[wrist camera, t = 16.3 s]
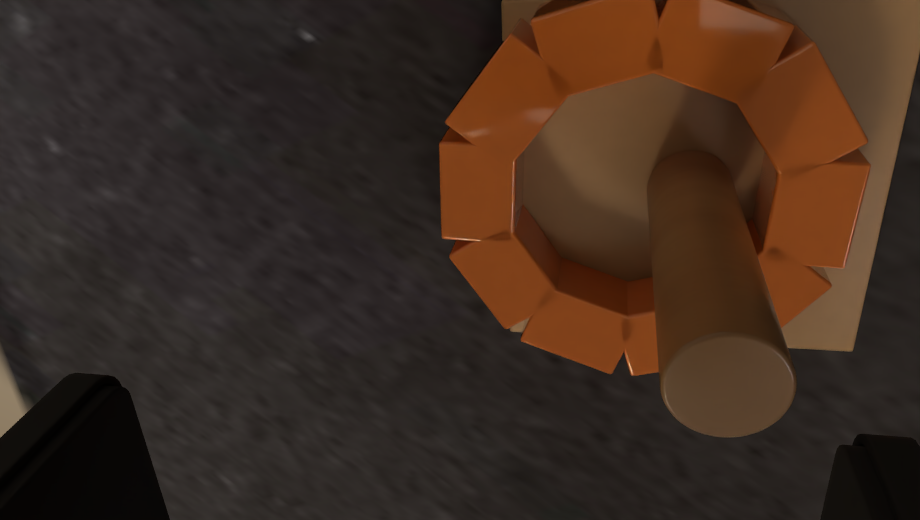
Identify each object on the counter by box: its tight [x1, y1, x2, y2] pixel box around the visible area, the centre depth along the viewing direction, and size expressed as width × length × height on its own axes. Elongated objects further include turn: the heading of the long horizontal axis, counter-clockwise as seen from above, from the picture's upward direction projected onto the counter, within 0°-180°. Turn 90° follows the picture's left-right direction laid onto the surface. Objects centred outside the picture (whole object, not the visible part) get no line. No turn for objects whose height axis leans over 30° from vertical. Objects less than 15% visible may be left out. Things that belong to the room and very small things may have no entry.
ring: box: [439, 0, 871, 376], centre depth 18 cm, size 9×10×2 cm
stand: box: [501, 0, 920, 437], centre depth 16 cm, size 9×9×10 cm
